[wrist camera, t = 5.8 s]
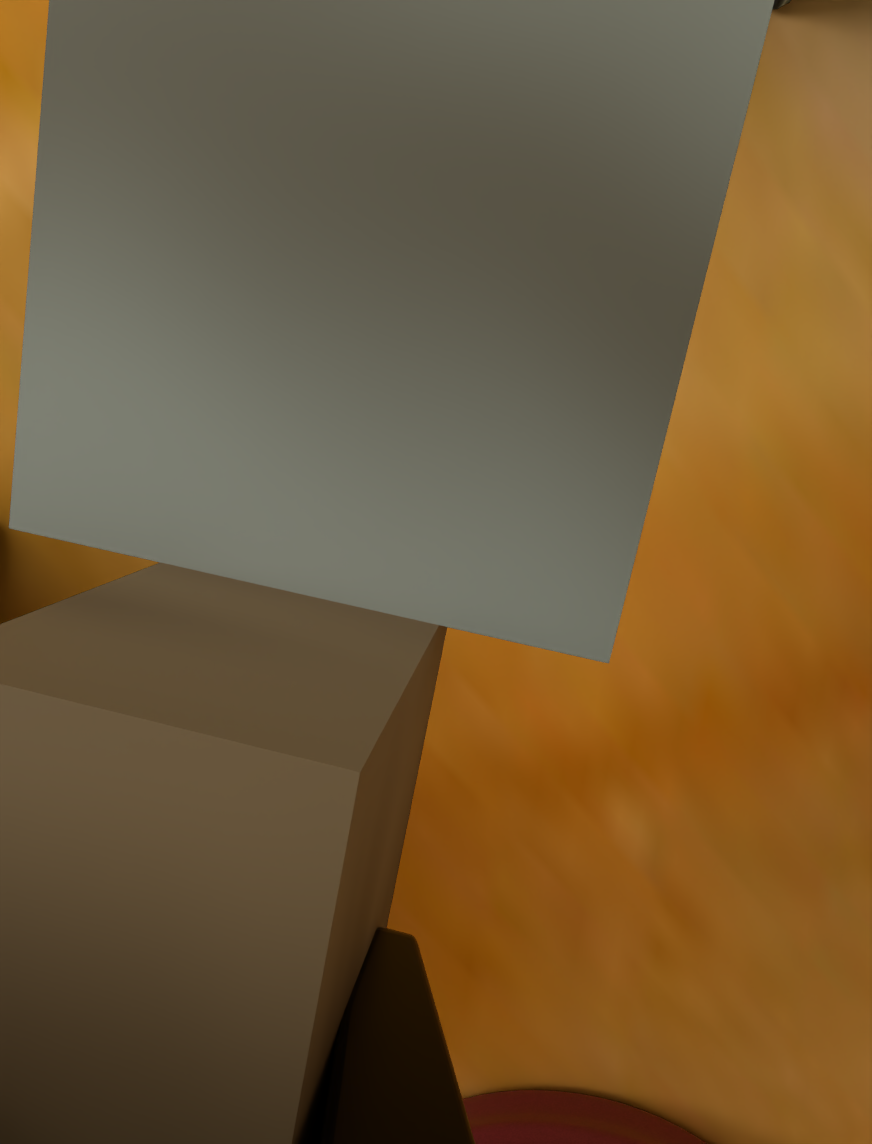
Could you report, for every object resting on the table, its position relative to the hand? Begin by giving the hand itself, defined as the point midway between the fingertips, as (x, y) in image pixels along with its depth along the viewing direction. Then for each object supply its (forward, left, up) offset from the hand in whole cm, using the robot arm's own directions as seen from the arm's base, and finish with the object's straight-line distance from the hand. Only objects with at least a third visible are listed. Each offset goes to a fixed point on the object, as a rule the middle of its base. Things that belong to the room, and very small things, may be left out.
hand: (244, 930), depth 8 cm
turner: (+4, 0, -1) cm, 4 cm away
